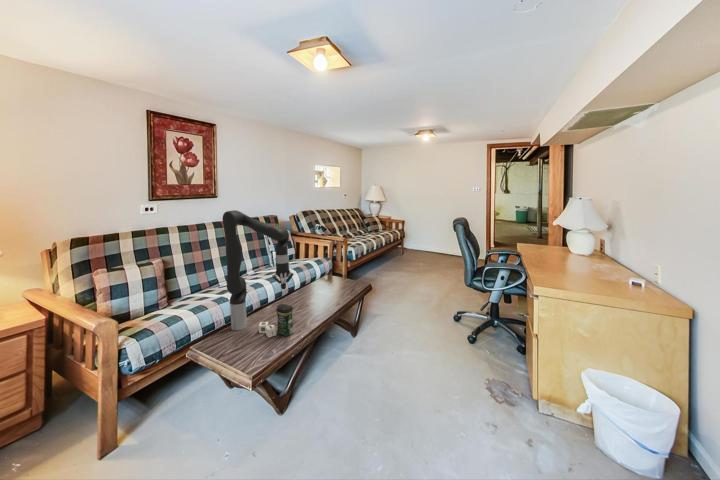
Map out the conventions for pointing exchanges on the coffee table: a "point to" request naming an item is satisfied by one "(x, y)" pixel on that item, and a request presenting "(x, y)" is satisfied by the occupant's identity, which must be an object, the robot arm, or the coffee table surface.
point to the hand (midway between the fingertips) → (283, 289)
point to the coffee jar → (284, 319)
